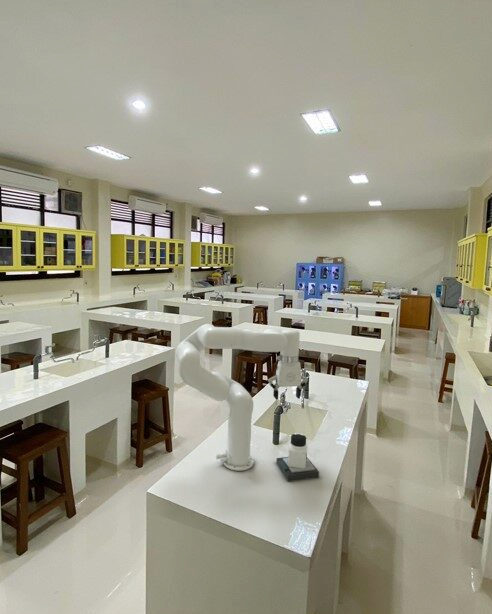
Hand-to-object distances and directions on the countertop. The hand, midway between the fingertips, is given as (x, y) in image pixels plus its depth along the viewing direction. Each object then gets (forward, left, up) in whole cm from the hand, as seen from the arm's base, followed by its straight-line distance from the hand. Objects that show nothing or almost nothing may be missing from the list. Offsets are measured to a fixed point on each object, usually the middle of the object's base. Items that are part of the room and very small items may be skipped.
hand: (287, 398), depth 159 cm
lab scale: (+1, -11, -27) cm, 29 cm away
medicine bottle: (+1, -11, -24) cm, 26 cm away
